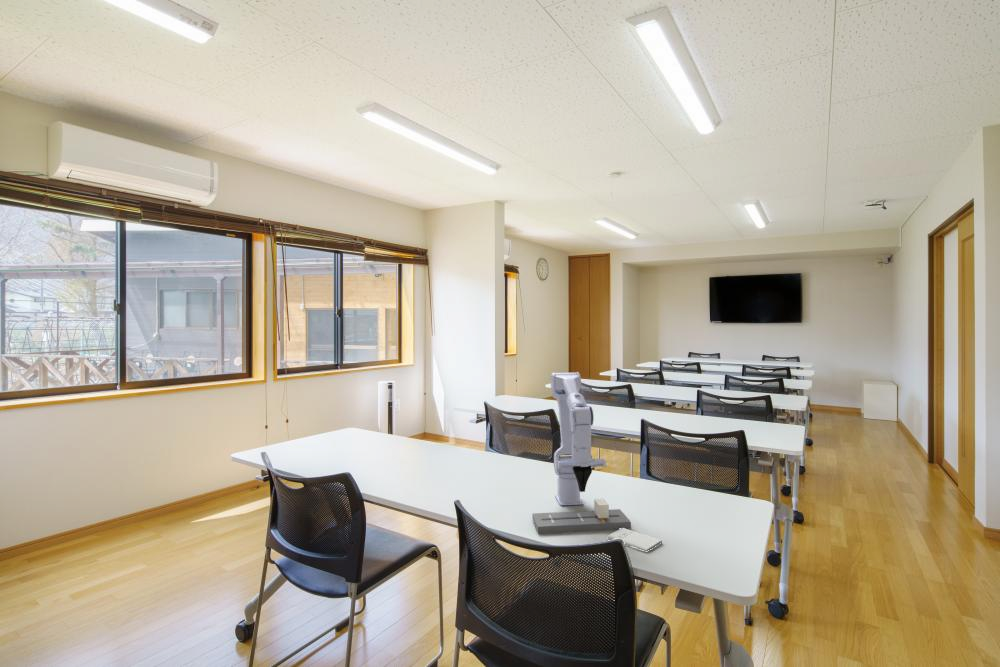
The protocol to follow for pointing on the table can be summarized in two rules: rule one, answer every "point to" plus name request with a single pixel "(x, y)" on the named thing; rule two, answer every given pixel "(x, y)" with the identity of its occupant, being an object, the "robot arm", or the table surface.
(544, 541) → the table surface
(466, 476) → the table surface
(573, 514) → the console
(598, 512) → the fader tab
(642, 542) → the external hard drive
